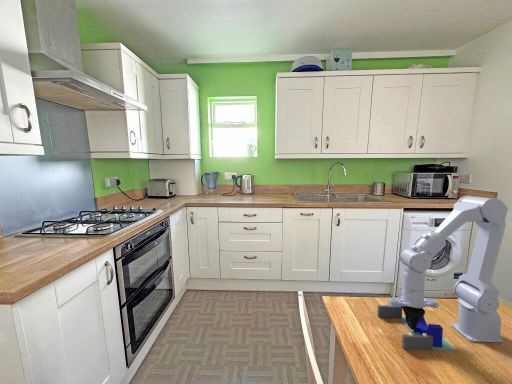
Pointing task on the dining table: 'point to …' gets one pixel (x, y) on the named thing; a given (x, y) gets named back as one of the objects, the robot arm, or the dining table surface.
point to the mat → (444, 347)
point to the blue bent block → (430, 331)
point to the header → (409, 340)
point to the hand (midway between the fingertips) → (411, 327)
